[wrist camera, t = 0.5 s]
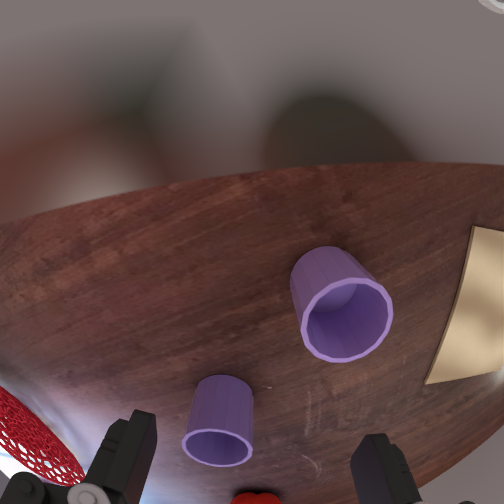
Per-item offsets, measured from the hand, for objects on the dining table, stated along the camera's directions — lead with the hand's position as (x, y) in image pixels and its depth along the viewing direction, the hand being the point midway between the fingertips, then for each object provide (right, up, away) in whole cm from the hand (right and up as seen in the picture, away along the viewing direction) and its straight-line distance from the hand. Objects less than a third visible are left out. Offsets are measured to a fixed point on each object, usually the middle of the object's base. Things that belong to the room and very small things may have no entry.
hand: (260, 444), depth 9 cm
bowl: (-42, -25, +27) cm, 56 cm away
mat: (+30, 0, +18) cm, 35 cm away
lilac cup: (-3, -9, +21) cm, 23 cm away
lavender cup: (+6, +4, +17) cm, 19 cm away
